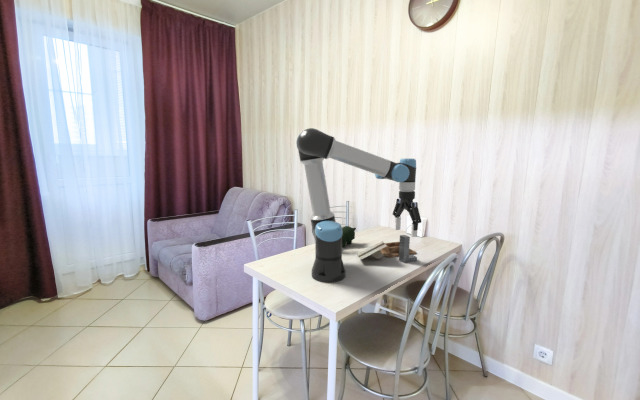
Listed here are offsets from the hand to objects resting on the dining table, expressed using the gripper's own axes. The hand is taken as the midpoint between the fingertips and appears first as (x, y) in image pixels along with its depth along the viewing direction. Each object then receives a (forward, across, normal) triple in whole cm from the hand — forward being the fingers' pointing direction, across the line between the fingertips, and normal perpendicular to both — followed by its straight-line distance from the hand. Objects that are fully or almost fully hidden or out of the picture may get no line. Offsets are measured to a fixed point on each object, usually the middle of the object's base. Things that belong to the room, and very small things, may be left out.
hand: (405, 233), depth 148 cm
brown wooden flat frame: (+14, +14, -4) cm, 21 cm away
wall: (+15, +8, +14) cm, 22 cm away
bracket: (+15, 0, -2) cm, 15 cm away
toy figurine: (+14, +33, +21) cm, 41 cm away
